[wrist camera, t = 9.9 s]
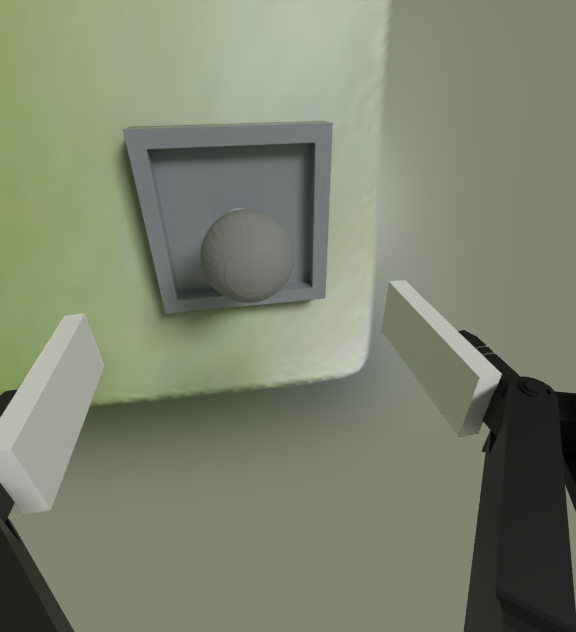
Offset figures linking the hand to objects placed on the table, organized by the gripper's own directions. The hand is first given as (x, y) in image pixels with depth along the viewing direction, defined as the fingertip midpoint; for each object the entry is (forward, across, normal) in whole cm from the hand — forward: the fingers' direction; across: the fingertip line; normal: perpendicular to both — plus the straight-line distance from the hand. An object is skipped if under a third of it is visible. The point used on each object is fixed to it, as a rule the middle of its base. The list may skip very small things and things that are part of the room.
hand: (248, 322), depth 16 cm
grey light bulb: (+16, +1, 0) cm, 16 cm away
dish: (+16, +1, 0) cm, 16 cm away
